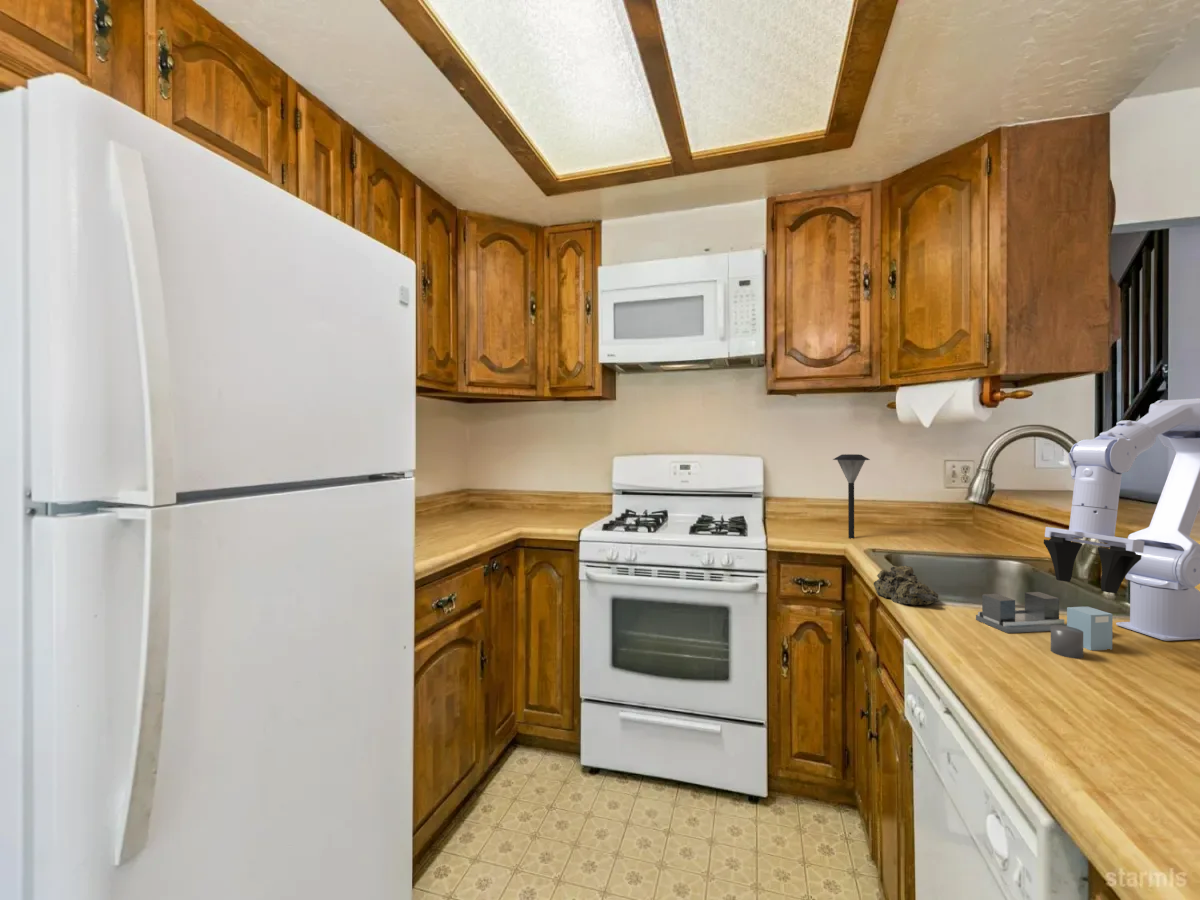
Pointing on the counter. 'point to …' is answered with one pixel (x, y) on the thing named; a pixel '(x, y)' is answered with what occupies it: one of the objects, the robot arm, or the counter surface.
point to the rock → (903, 587)
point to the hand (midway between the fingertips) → (1085, 586)
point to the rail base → (1020, 613)
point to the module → (1092, 626)
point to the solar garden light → (851, 482)
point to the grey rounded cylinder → (1067, 641)
